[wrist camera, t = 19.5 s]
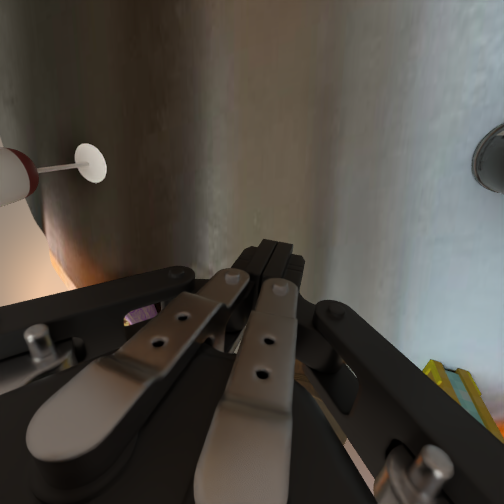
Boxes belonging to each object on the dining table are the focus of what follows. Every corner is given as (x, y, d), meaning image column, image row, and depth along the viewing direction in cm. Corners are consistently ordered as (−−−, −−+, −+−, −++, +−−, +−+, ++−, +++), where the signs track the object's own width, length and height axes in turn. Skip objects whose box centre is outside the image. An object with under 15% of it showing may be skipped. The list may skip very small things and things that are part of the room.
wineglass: (72, 174, 55) (-49, 195, 38) (75, 133, 51) (-59, 134, 34) (104, 192, 55) (-3, 220, 37) (110, 151, 51) (-8, 162, 33)
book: (430, 359, 50) (505, 536, 28) (469, 371, 49) (578, 566, 27) (393, 412, 58) (430, 584, 36) (426, 424, 57) (484, 609, 35)
